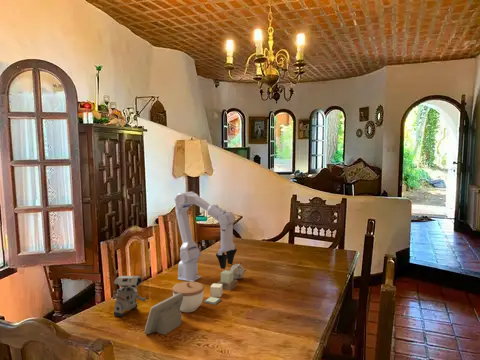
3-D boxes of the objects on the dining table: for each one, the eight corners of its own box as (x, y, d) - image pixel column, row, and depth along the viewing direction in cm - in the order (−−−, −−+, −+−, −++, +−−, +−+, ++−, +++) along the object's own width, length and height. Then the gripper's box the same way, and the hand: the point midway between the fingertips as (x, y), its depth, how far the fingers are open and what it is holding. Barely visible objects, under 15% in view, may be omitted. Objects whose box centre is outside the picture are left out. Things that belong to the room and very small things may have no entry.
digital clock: (175, 316, 137) (175, 289, 136) (190, 323, 131) (190, 295, 130) (139, 331, 125) (138, 302, 124) (153, 340, 119) (153, 310, 118)
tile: (202, 302, 149) (202, 300, 149) (209, 297, 154) (209, 295, 154) (215, 305, 146) (215, 303, 146) (221, 299, 152) (221, 298, 152)
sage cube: (220, 282, 166) (220, 272, 165) (225, 278, 170) (225, 269, 169) (229, 283, 164) (229, 274, 163) (233, 280, 168) (233, 271, 168)
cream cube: (210, 296, 155) (210, 287, 155) (212, 293, 159) (212, 283, 159) (220, 297, 154) (220, 287, 154) (222, 293, 159) (222, 283, 158)
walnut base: (217, 288, 165) (217, 282, 165) (224, 283, 172) (224, 277, 171) (230, 291, 162) (230, 284, 162) (237, 286, 168) (237, 280, 168)
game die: (239, 287, 176) (243, 276, 169) (224, 280, 177) (227, 268, 171) (245, 274, 182) (249, 262, 176) (231, 267, 184) (234, 255, 178)
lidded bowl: (178, 318, 135) (177, 290, 134) (168, 305, 146) (168, 279, 145) (208, 311, 140) (208, 284, 140) (197, 299, 152) (197, 275, 151)
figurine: (134, 320, 133) (133, 282, 132) (110, 315, 137) (109, 277, 136) (149, 310, 141) (148, 274, 140) (126, 305, 145) (125, 270, 144)
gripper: (227, 242, 157) (227, 271, 158) (240, 235, 171) (240, 262, 172) (213, 240, 160) (213, 269, 161) (227, 234, 173) (227, 261, 174)
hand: (226, 266), depth 167 cm, fingers open, 7 cm apart
